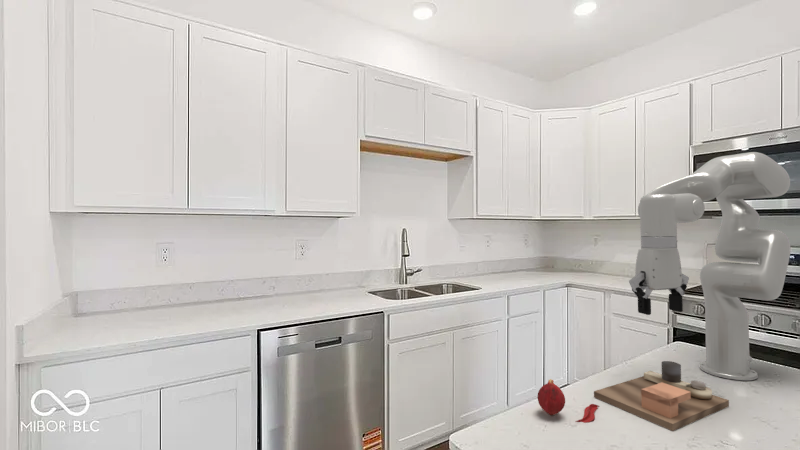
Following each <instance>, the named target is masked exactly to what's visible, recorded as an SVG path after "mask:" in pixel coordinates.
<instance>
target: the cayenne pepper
mask: <svg viewBox="0 0 800 450" xmlns="http://www.w3.org/2000/svg"><path fill="white" fill-rule="evenodd" d="M599 407H600V405H598V404H594V403H590V404H589V405H588V406H586V407H585V408H584V410H583V411H584V414H583V416H582V418H581V419H578V420H575V423H583V424H586V423H587V424H588V423H593V421H594V420H595V418H596V414H595V413H596V411H597V410H599Z"/></svg>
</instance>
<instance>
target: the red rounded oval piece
mask: <svg viewBox="0 0 800 450" xmlns="http://www.w3.org/2000/svg"><path fill="white" fill-rule="evenodd" d="M537 402H538V405H539V407H540V409H542V410H543V411H544V412H545V413H546V414H548V415H549V416H551V417H553V416H555V415H557V414H559V413H560V412H562V410H563V409H564V407H565V406H566V405H565V404H566V397H565V394H564V392H563V390H562V389H561V388H560V387H559V386H558V385H556V384H555V383H554V379H552V378H550V379H548V382H547V383H545V384H543V385H542V386H541V387H540V388H539V390H538V392H537Z"/></svg>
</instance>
